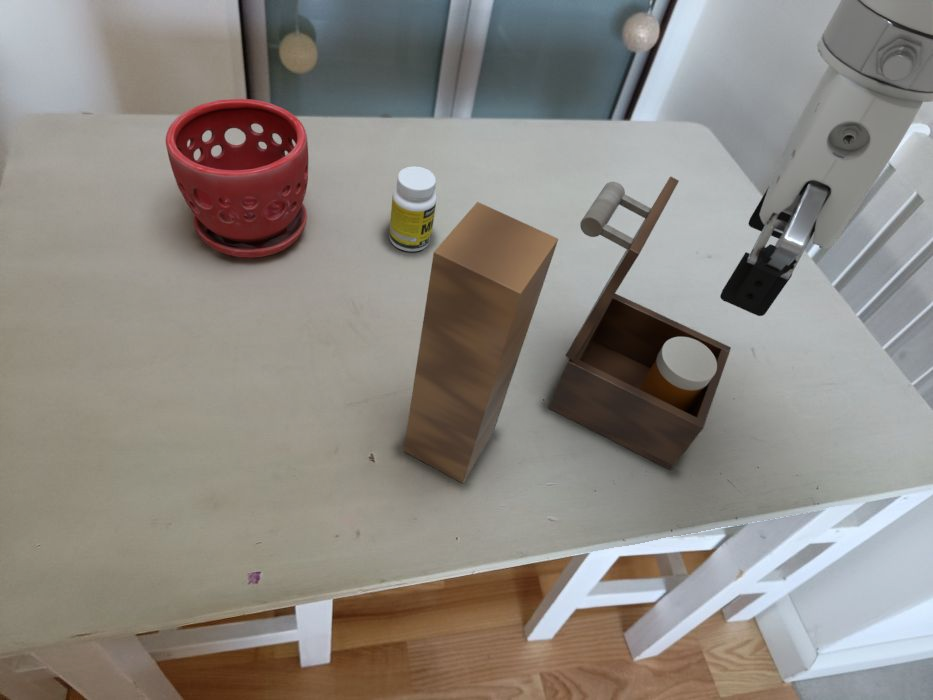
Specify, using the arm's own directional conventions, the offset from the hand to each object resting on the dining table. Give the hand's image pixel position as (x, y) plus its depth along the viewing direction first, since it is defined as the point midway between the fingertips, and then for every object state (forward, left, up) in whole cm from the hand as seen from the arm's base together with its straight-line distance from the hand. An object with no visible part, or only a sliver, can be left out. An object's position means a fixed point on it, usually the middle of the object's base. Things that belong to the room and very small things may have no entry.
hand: (754, 266), depth 51 cm
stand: (+16, +13, -21) cm, 29 cm away
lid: (+8, 0, -6) cm, 11 cm away
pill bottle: (0, 0, -20) cm, 20 cm away
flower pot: (+47, +1, -21) cm, 52 cm away
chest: (+3, 0, -21) cm, 21 cm away
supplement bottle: (+32, -8, -21) cm, 39 cm away
